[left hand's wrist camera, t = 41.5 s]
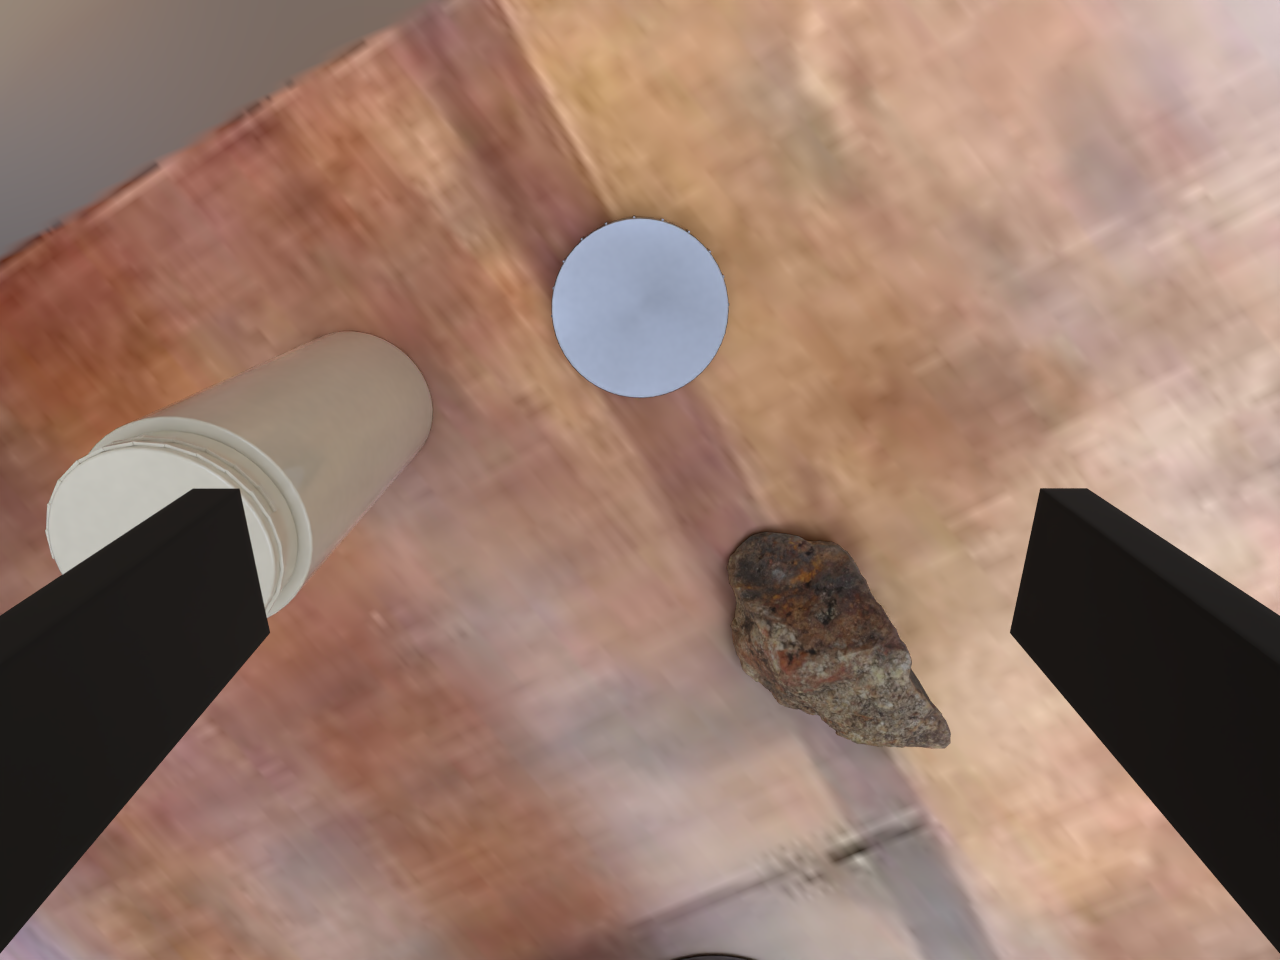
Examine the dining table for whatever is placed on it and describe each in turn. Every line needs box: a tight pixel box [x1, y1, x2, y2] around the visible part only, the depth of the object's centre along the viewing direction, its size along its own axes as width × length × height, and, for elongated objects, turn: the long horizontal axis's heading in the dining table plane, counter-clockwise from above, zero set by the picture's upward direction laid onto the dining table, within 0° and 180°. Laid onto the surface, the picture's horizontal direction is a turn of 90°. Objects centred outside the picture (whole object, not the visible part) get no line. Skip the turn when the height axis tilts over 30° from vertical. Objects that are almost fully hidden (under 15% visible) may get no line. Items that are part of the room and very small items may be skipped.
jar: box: [45, 331, 433, 618], centre depth 33 cm, size 8×8×18 cm
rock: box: [727, 532, 951, 748], centre depth 42 cm, size 14×9×10 cm
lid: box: [551, 215, 729, 398], centre depth 38 cm, size 9×9×2 cm
